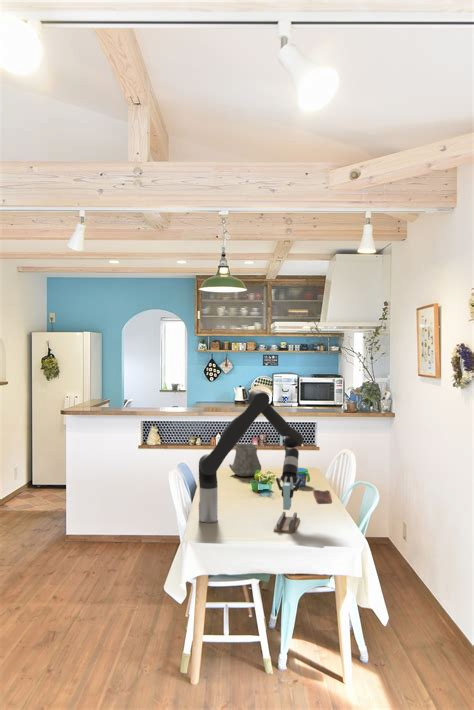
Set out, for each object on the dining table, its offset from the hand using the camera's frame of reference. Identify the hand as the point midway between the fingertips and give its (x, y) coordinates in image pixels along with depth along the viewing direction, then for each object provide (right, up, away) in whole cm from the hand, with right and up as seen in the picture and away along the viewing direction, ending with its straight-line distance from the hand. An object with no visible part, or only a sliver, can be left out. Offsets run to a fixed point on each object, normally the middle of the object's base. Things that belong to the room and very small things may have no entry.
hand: (287, 497), depth 268 cm
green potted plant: (-11, -13, +68) cm, 70 cm away
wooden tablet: (+26, -14, +51) cm, 59 cm away
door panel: (0, -5, +1) cm, 6 cm away
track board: (0, -14, +1) cm, 14 cm away
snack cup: (+15, -13, +77) cm, 80 cm away
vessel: (-19, -12, +103) cm, 106 cm away
